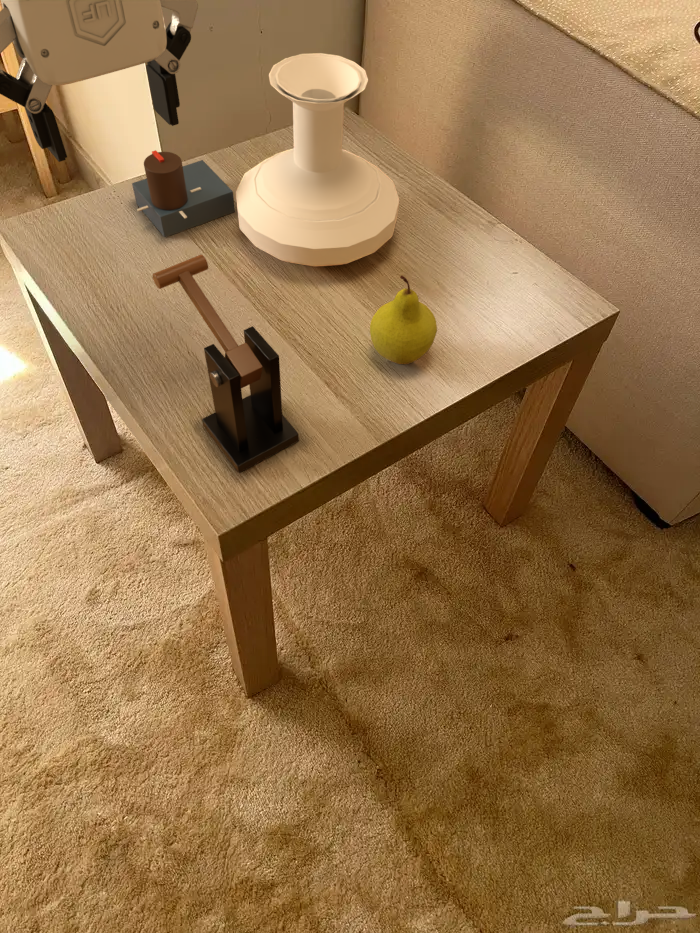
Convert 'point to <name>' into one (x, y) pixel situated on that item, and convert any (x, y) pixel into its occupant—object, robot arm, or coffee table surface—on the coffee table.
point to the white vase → (317, 174)
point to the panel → (189, 201)
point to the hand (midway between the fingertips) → (113, 134)
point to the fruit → (403, 328)
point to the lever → (211, 317)
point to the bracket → (247, 407)
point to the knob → (165, 180)
